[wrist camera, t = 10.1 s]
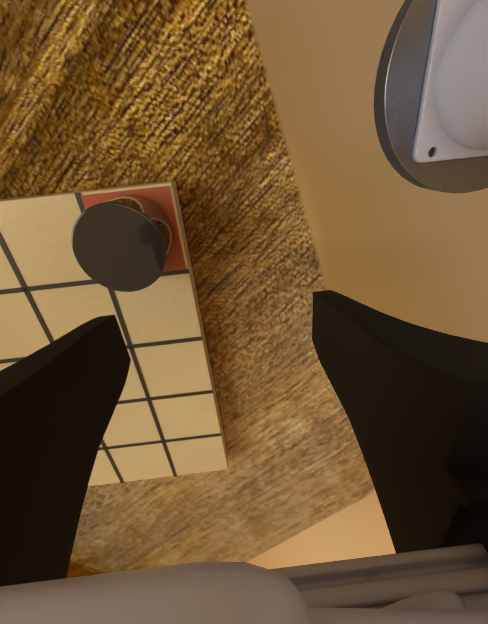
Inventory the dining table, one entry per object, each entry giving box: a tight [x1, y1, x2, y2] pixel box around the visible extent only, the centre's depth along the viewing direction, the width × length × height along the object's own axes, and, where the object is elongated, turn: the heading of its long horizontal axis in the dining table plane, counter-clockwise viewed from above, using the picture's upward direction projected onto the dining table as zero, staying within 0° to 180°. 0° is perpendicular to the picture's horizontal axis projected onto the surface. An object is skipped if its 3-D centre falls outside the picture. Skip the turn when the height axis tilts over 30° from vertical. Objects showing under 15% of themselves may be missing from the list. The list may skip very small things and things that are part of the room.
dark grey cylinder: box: [71, 194, 175, 292], centre depth 15 cm, size 4×4×3 cm
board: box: [0, 180, 228, 486], centre depth 22 cm, size 20×25×2 cm
